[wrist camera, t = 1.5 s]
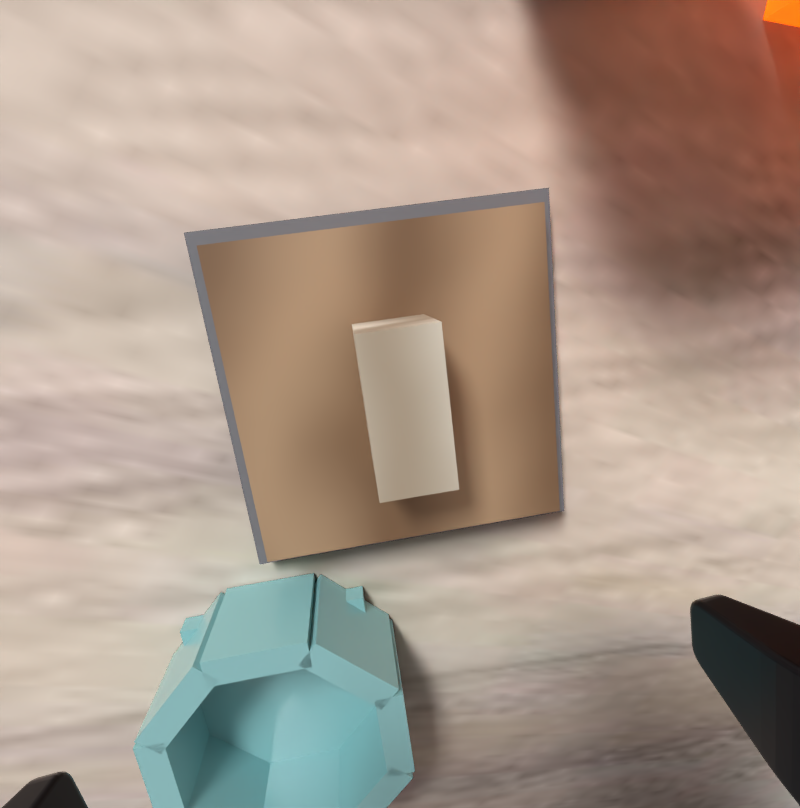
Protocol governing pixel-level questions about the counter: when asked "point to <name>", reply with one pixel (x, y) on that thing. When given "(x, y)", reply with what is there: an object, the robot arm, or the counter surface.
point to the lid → (390, 375)
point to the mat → (345, 221)
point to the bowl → (280, 704)
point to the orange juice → (783, 12)
